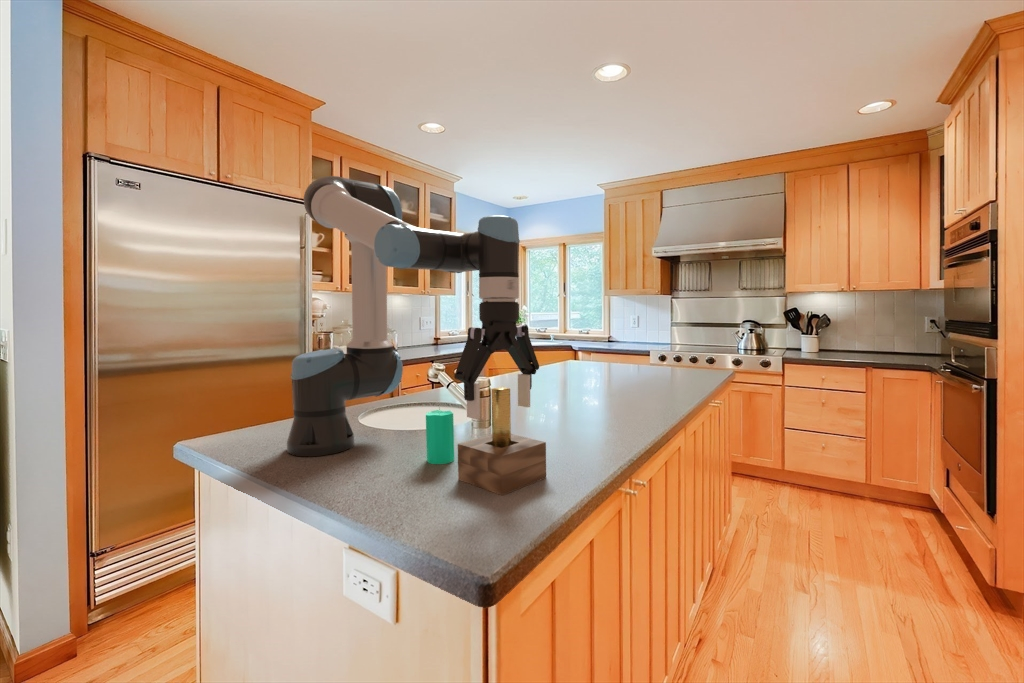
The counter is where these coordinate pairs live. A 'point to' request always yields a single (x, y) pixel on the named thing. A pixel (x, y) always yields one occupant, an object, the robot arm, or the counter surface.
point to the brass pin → (501, 417)
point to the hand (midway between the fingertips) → (500, 411)
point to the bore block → (502, 463)
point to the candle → (440, 437)
